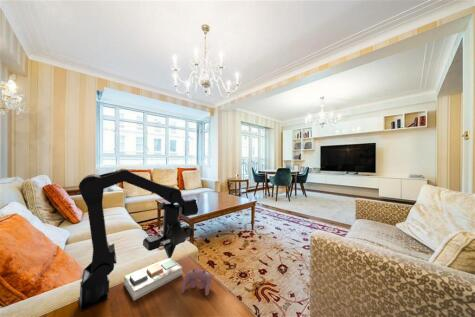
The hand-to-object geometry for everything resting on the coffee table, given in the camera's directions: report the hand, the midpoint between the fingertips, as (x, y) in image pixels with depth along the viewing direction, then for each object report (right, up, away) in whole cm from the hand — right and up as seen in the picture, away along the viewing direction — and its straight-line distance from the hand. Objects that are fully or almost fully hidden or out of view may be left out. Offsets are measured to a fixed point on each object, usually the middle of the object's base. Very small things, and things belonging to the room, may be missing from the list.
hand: (169, 257), depth 68 cm
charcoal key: (-8, -3, -8) cm, 12 cm away
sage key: (0, -5, 0) cm, 5 cm away
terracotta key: (-4, -4, -4) cm, 7 cm away
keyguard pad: (-4, -6, -4) cm, 8 cm away
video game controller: (+13, -7, -8) cm, 17 cm away
